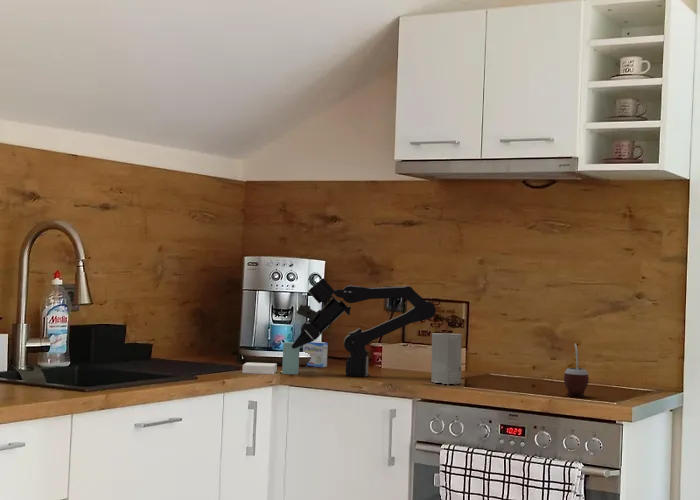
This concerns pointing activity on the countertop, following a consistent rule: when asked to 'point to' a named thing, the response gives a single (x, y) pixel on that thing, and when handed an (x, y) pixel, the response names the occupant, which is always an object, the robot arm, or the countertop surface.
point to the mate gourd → (576, 380)
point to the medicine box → (316, 353)
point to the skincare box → (446, 358)
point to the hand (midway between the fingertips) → (293, 346)
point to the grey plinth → (259, 368)
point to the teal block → (290, 359)
